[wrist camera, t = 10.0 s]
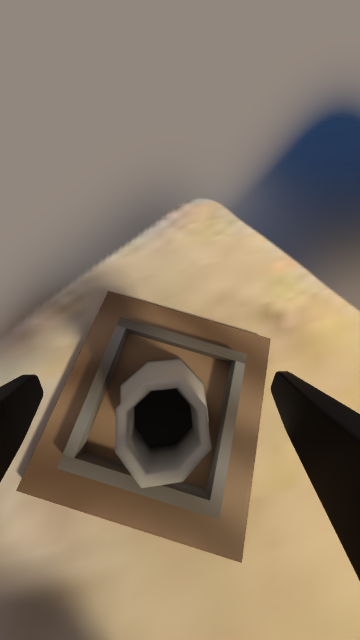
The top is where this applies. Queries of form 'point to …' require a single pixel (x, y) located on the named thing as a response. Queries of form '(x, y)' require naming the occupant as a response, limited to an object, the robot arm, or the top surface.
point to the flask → (162, 423)
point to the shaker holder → (100, 425)
